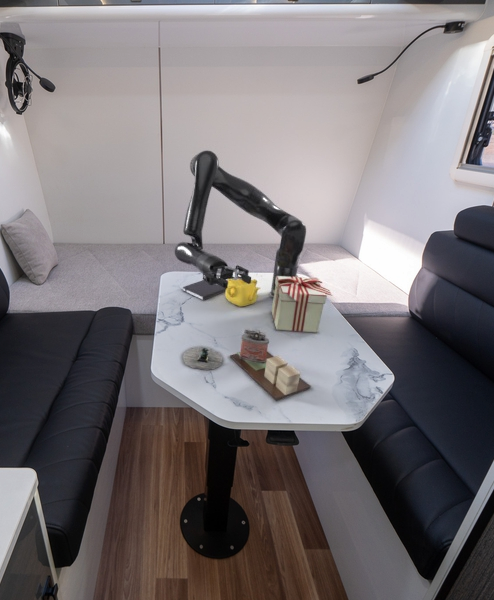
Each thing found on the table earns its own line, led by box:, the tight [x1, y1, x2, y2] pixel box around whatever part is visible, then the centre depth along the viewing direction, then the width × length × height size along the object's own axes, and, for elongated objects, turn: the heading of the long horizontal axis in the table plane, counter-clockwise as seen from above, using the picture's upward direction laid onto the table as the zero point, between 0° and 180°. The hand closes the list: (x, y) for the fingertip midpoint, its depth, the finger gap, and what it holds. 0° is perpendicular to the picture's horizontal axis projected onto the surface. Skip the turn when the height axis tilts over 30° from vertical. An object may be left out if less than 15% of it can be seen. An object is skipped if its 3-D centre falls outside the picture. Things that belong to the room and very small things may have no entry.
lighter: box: [240, 328, 270, 364], centre depth 111 cm, size 8×3×10 cm, turn 70°
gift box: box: [271, 276, 333, 334], centre depth 132 cm, size 17×18×17 cm
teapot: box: [224, 278, 261, 307], centre depth 149 cm, size 14×13×10 cm
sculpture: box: [182, 346, 224, 371], centre depth 115 cm, size 12×9×8 cm
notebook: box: [182, 279, 228, 301], centre depth 162 cm, size 13×2×21 cm
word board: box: [229, 351, 312, 401], centre depth 108 cm, size 12×22×7 cm, turn 26°
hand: (238, 283), depth 113 cm, fingers open, 8 cm apart
